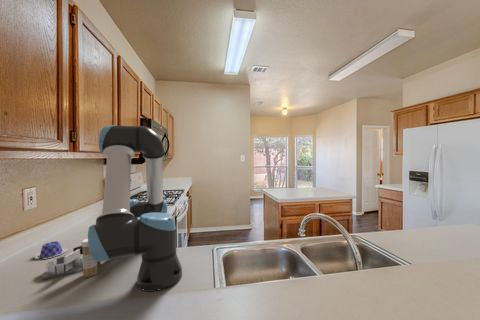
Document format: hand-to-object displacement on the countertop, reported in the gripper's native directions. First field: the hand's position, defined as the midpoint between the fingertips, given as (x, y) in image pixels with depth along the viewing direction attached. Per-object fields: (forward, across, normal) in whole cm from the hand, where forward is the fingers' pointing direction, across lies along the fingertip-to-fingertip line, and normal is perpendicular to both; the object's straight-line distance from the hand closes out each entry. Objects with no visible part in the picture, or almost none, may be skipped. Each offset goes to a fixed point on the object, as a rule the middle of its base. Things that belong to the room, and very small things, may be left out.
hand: (83, 260), depth 77 cm
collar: (-7, +14, -7) cm, 17 cm away
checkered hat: (-21, +33, -8) cm, 40 cm away
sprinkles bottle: (-3, 0, -7) cm, 8 cm away
